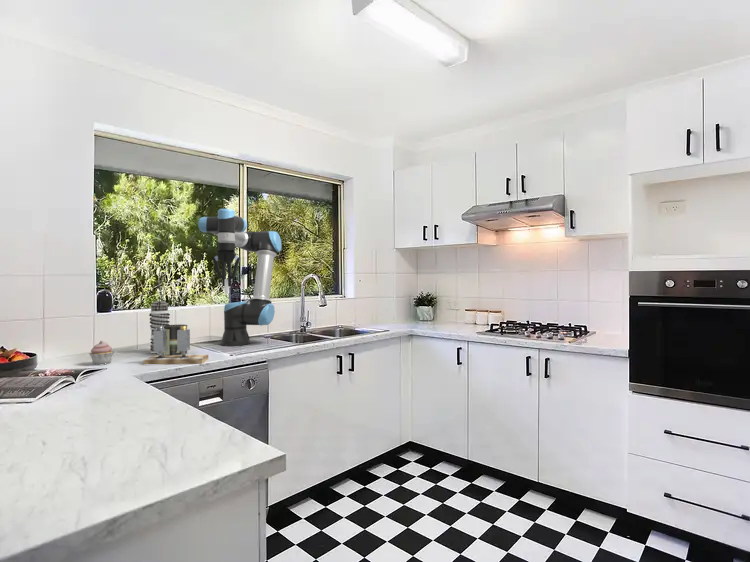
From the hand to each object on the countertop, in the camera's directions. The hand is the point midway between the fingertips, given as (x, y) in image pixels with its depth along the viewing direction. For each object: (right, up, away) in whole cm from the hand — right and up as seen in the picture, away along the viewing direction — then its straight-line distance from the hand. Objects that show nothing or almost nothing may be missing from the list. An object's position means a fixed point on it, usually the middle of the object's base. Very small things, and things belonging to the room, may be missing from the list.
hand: (226, 293), depth 207 cm
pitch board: (-18, -30, -12) cm, 37 cm away
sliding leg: (-15, -27, -12) cm, 33 cm away
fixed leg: (-25, -28, -13) cm, 39 cm away
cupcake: (-49, -30, -15) cm, 59 cm away
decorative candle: (-37, -30, +13) cm, 49 cm away
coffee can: (-26, -30, +5) cm, 40 cm away
